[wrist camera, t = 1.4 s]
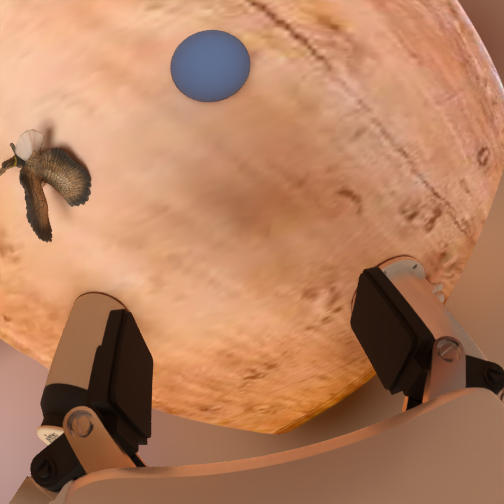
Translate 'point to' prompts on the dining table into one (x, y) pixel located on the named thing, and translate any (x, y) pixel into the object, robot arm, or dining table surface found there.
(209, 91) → the ball
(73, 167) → the eagle figurine
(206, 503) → the robot arm
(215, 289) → the dining table surface
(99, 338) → the travel mug
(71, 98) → the dining table surface
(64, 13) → the dining table surface
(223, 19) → the dining table surface
